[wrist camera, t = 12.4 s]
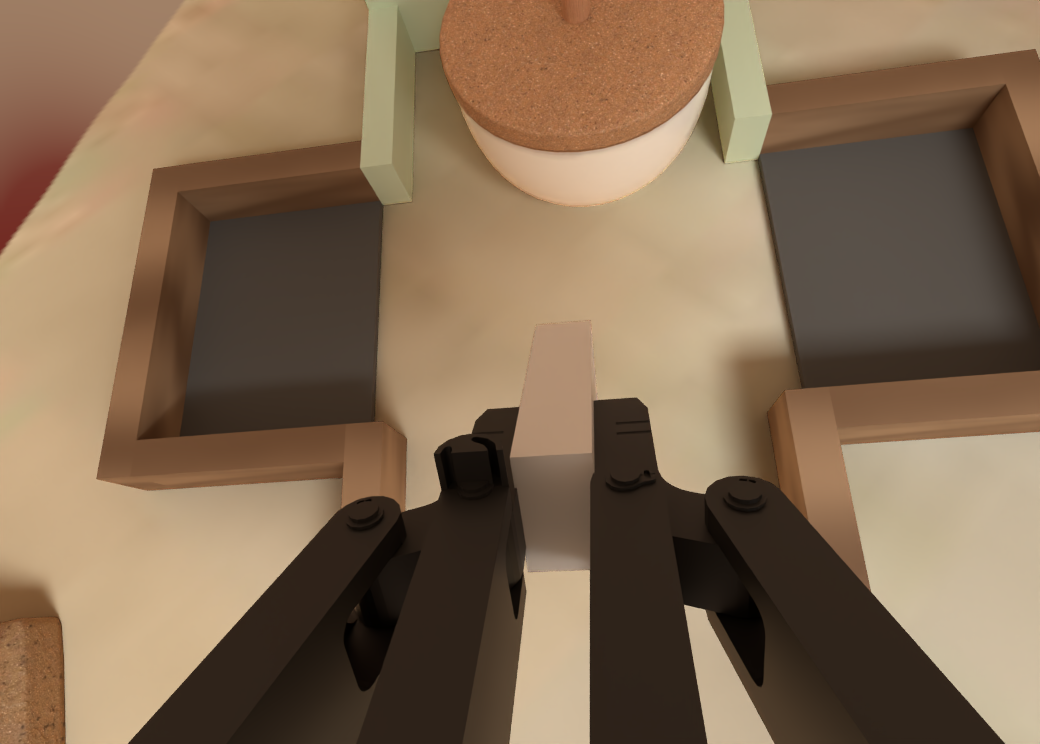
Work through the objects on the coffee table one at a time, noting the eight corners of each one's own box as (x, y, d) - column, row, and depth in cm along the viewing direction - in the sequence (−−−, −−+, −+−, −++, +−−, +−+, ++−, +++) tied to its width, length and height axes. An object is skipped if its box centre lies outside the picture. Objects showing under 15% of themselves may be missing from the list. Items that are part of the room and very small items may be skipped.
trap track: (1236, 785, 20) (1474, 858, 14) (100, 787, 25) (-50, 842, 19) (941, -51, 32) (1008, -189, 27) (214, 63, 37) (141, -32, 32)
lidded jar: (436, 182, 32) (366, 26, 23) (563, 33, 34) (542, -162, 25) (616, 288, 29) (612, 152, 20) (745, 117, 31) (794, -76, 22)
